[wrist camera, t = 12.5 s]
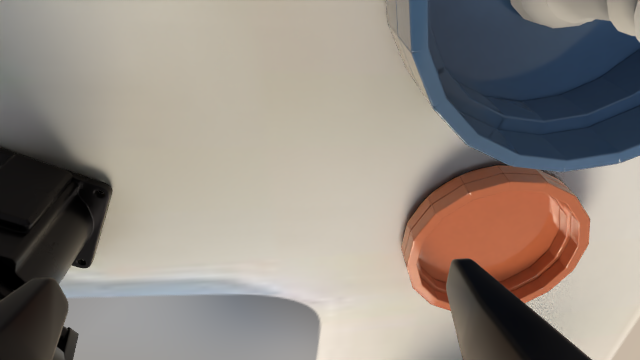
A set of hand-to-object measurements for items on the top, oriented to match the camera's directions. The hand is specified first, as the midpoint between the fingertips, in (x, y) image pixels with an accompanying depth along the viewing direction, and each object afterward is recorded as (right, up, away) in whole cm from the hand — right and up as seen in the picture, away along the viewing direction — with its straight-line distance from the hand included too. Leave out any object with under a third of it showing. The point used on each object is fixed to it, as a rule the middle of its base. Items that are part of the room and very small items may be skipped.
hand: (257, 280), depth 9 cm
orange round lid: (+11, -1, +16) cm, 19 cm away
